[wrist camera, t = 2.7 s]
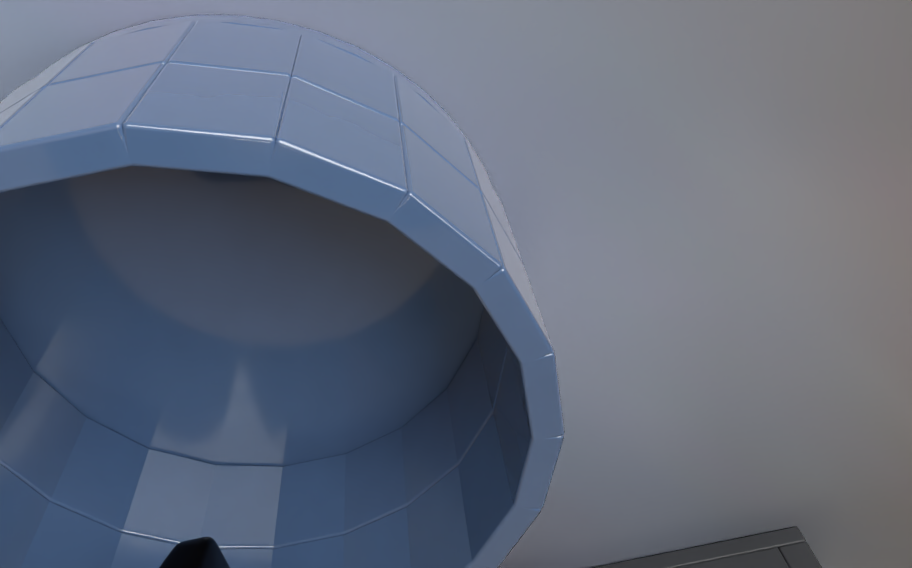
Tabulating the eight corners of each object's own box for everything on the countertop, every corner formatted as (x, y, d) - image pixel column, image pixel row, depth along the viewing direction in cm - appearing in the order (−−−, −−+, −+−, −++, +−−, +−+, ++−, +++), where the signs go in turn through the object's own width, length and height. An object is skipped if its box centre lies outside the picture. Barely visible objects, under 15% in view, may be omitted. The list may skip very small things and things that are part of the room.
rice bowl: (462, -43, 12) (516, 41, 8) (532, 411, 17) (586, 604, 13) (-153, 82, 12) (-427, 233, 8) (110, 497, 18) (32, 716, 13)
